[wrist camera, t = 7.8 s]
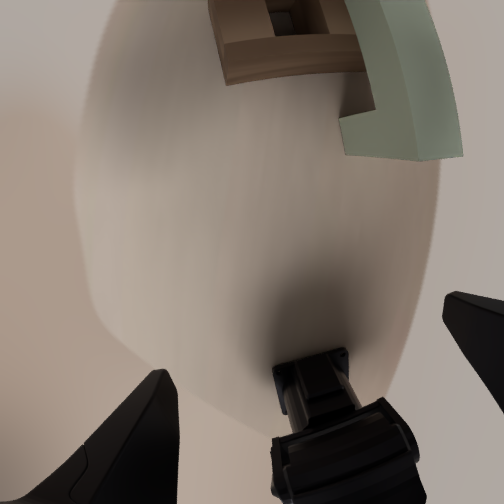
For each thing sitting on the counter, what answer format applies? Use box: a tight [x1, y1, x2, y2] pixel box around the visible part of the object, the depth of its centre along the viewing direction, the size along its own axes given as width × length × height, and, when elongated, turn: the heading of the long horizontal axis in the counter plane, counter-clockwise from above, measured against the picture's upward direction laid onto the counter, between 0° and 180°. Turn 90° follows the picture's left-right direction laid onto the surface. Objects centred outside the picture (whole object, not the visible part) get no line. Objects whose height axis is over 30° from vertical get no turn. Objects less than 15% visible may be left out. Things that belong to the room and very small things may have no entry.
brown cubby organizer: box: [208, 0, 367, 86], centre depth 13 cm, size 6×12×5 cm, turn 102°
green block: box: [339, 0, 463, 161], centre depth 12 cm, size 10×3×8 cm, turn 12°
